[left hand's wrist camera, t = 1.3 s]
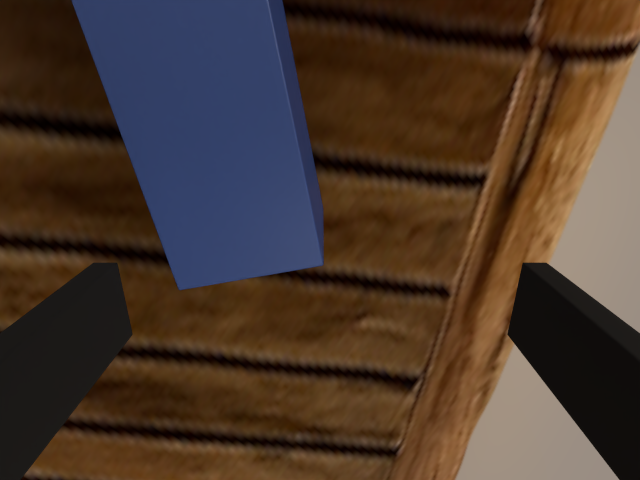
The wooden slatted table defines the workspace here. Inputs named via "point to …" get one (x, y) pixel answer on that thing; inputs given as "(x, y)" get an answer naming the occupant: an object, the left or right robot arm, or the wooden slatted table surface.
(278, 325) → the wooden slatted table surface
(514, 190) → the wooden slatted table surface
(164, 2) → the box
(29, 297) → the wooden slatted table surface
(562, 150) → the wooden slatted table surface
